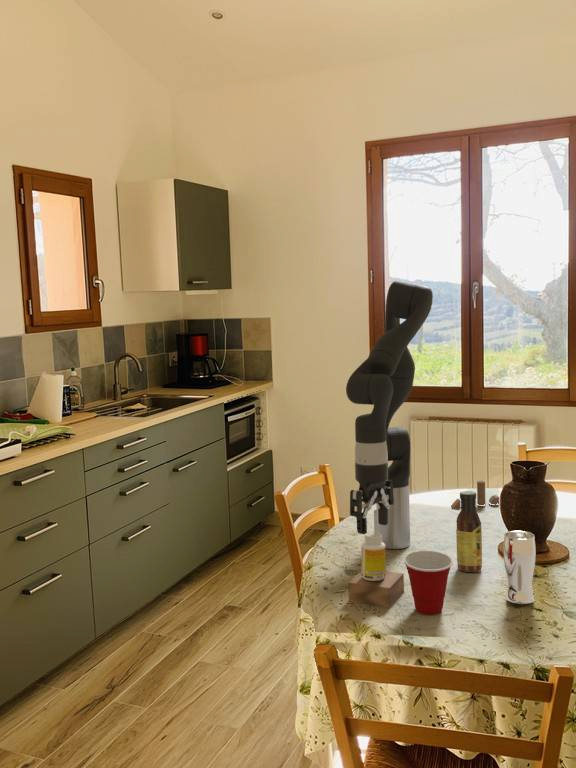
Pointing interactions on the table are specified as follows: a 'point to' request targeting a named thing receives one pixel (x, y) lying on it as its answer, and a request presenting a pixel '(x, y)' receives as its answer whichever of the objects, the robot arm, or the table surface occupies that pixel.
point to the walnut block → (377, 590)
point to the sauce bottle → (469, 534)
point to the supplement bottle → (373, 557)
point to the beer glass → (519, 565)
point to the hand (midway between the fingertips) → (372, 528)
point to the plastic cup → (428, 579)
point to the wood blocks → (479, 496)
